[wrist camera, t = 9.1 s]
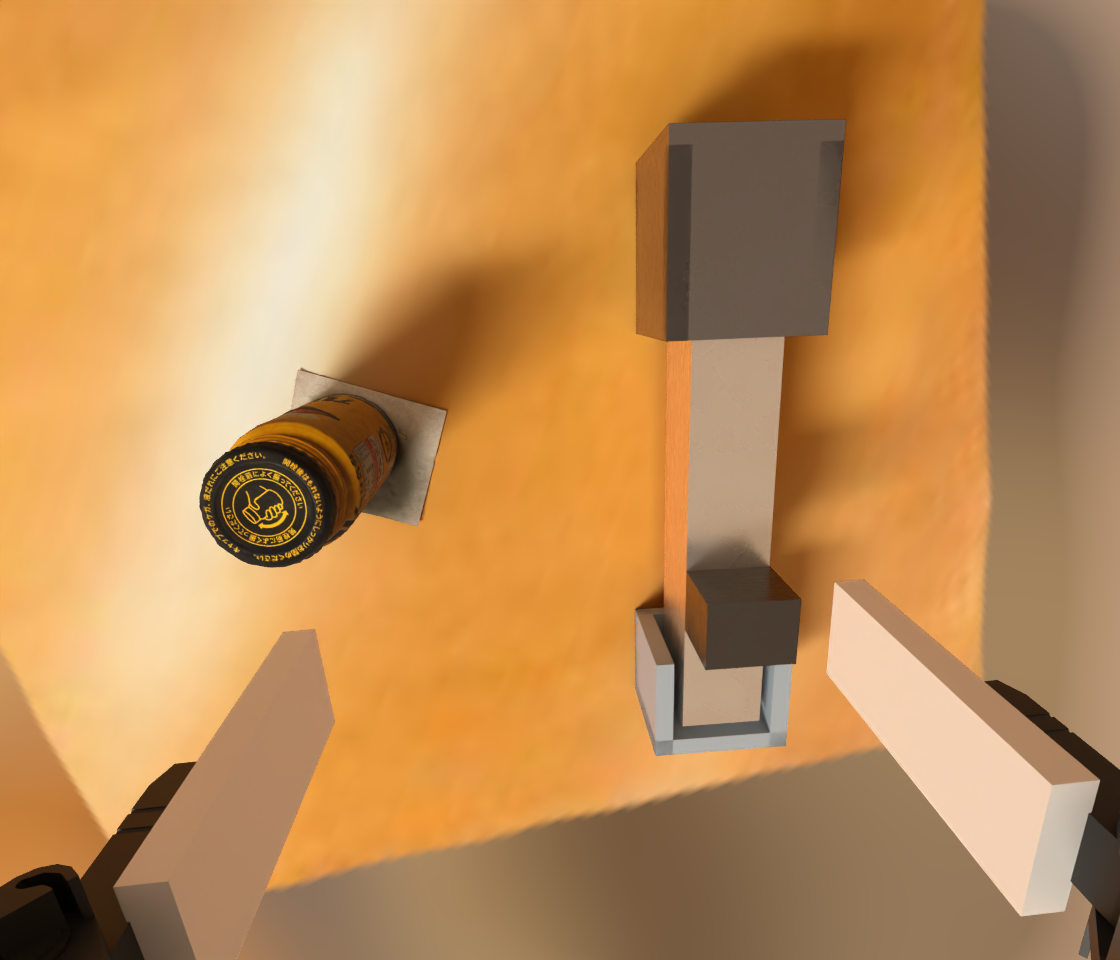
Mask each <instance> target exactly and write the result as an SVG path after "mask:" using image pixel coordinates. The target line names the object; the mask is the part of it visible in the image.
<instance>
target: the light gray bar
mask: <svg viewBox="0 0 1120 960" xmlns="http://www.w3.org/2000/svg"><path fill="white" fill-rule="evenodd" d="M784 339H785V337H763V338H740V339H716V340H693V341H669V342H667V389H666V469H665V549H664V629H663V639H664V641H665V644H666V646H667V648H668V651H669V653H670V655H671V658H672V660H673V662H674V705H675V708H676V710H677V713H678V716H679V718H680V721H681V723H682V726H695V725H708V724H721V723H734V722H748V721H759V718H760V703H761V688H762V673H763V666H772V665H787V664H796V656H797V644H798V632H799V620H800V608H801V599H800V597H799V596H798V595H797V594H796V593H795V592H794V591H793V590H792V589H791V588H790V587H789V586H788V585H787V584H786V583H785V582H784V581H783V580H782V579H781V577H780V576H779V575H778V574H777V573H776V572H775V571H774V570H773V569H772V568H771V567H770V551H771V536H772V521H773V506H774V491H775V475H776V460H777V445H778V430H779V415H780V400H781V384H782V369H783V354H784Z"/></svg>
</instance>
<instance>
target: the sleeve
mask: <svg viewBox="0 0 1120 960" xmlns="http://www.w3.org/2000/svg"><path fill="white" fill-rule="evenodd" d="M845 125H846V119H831V120H789V121H747V122H705V123H669V124H668V125H667V126H666V128H665V129H664V130H663V131H662V132H661V134H660V135H659V136H658V137H657V138H656V140H655V141H654V142H653V143H652V144H651V146H650V147H649V148H648V149H647V150H646V152H645V153H644V154H643V155H642V156H641V158H640V159H639V160H638V161H637V162H636V334H639V335H643V336H647V337H651V338H655V339H658V340H662V341H666V342H669V341H693V340H716V339H740V338H763V337H787V336H810V335H828V325H829V313H830V301H831V289H832V278H833V266H834V254H835V243H836V231H837V219H838V207H839V196H840V184H841V172H842V161H843V149H844V137H845Z"/></svg>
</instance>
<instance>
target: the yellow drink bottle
mask: <svg viewBox="0 0 1120 960" xmlns="http://www.w3.org/2000/svg"><path fill="white" fill-rule="evenodd" d="M446 412H447V411H445V410H441V409H438V408H434V407H430V406H427V405H423V404H420V403H415V402H412V401H408V400H404V399H401V398H398V397H394V396H391V395H387V394H383V393H380V392H377V391H373V390H370V389H366V388H363V387H359V386H355V385H352V384H348V383H345V382H341V381H337V380H334V379H330V378H326V377H323V376H319V375H316V374H312V373H308V372H304V371H300V370H298V372H297V378H296V383H295V389H294V395H293V401H292V407H291V410H290V411H288V412H286V413H285V414H283V415H281V416H279V417H277V418H275V419H273V420H271V421H268V422H266V423H263V424H260V425H258V426H257V427H255V428H254V429H252V430H250V431H249V432H247V433H246V434H245V435H243V436H242V437H240V438H239V439H238V440H237V441H236V443H235V444H234V445H233V446H232V447H231V449H230V451H229V452H225V454H224V455H222V456H221V457H220V458H219V459H217V460H216V461H215V462H214V463H213V465H212V467H211V468H210V470H209V471H208V472H207V473H206V474H205V477H204V479H203V484H202V489H201V492H200V498H199V499H200V510H201V512H202V517H203V520H204V523H205V525H206V527H207V529H208V530H209V531H210V533H211V535H212V536H213V537H214V539H215V540H216V542H217V544H218V545H219V546H220V547H222V548H224V549H225V550H226V551H227V552H229V553H230V554H232V555H234V556H235V557H237V558H238V559H239V560H241V561H243V562H246V563H248V564H252V565H259V566H264V567H272V568H273V567H287V566H289V565H293V564H296V563H300V562H301V561H302V560H304V559H308V558H310V557H312V556H313V555H314V554H315V553H318V552H319V550H321V549H322V547H323V546H326V545H328V544H330V543H331V542H333V541H334V540H336V539H338V538H339V537H340V536H342V535H343V534H344V533H345V532H346V531H347V530H348V529H349V527H350V526H351V525H352V524H353V523H354V521H355V520H356V519H357V517H358V516H359V514H360V513H361V512H363V513H368V514H373V515H376V516H381V517H385V518H389V519H392V520H395V521H399V522H402V523H407V524H411V525H415V526H418V524H419V520H420V516H421V512H422V509H423V505H424V501H425V497H426V493H427V489H428V485H429V481H430V477H431V473H432V469H433V465H434V460H435V457H436V453H437V448H438V444H439V441H440V437H441V433H442V428H443V424H444V420H445V416H446ZM398 429H400V430H401V433H399V432H398ZM403 435H405V436H406V440H405V439H404V438H403Z"/></svg>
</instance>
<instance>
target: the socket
mask: <svg viewBox="0 0 1120 960" xmlns="http://www.w3.org/2000/svg"><path fill="white" fill-rule="evenodd" d="M663 629H664V607H663V608H648V609H635V689H636V692H637V696H638V699H639V702H640V706H641V709H642V712H643V716H644V719H645V722H646V726H647V729H648V732H649V736H650V739H651V742H652V746H653V749H654V752H655V756H662V755H675V754H688V753H701V752H713V751H726V750H739V749H752V748H765V747H778V746H786V737H787V725H788V713H789V700H790V688H791V676H792V664H787V665H772V666H763V673H762V688H761V703H760V718H759V721H748V722H734V723H721V724H708V725H695V726H682V723H681V721H680V718H679V716H678V713H677V710H676V708H675V705H674V662H673V660H672V658H671V655H670V653H669V651H668V648H667V646H666V644H665V641H664V639H663Z"/></svg>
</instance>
